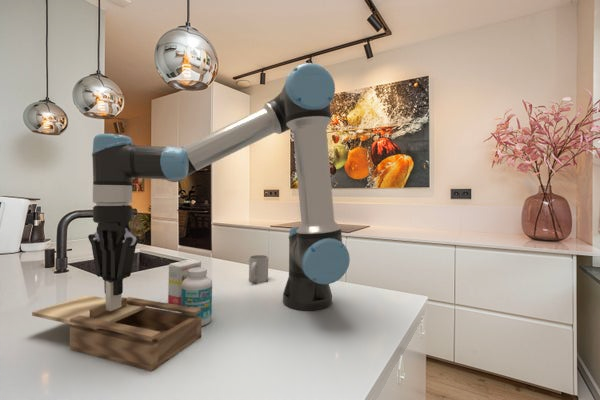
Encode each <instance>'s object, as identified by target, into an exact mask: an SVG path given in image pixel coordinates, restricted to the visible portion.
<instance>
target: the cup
mask: <svg viewBox="0 0 600 400" xmlns="http://www.w3.org/2000/svg"><path fill="white" fill-rule="evenodd" d="M248 257H249V259H248V281H249V282H250V283H253V284H262V282H263V283H266V282H268V280H269V256H268V255H264V254H256V255H251V256H248Z"/></svg>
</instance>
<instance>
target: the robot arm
mask: <svg viewBox="0 0 600 400" xmlns="http://www.w3.org/2000/svg"><path fill="white" fill-rule="evenodd" d="M335 92H336V84H335V81H334V79H333V75H331V74H330V72H329V70H326V69H325V68H324V66H322V65H319V64H316V63H314V62H305V63H301V64H298V65H297V66H295V68H293V69H292V70H291V72H290V73H289V74H288V75H287V77H286V79H285V83H284V85H283V87H282V90H281V92H279V94H278V95H277V96H275V97H274V98H273V99H271V100H270V101H267V102H265V103H264V105H263V108H262V109H258V110H257V111H255V112H252V113H250V114H249V115H246V116H244V117H242V118H240V119H238V120H236V121H234V122H232V123H229V124H227V125H225V126H223V127H221V128H219V129H216V130H214V131H213V132H211V133H208V134H207V135H204V136H202V137H200V138H198V139H196V140H194V141H192V142H190V143H188V144H185V145H183V146H181V147H177V146H172V145H168V146H160V145H159V146H157V145H156V146H155V145H154V146H152V145H151V146H150V145H136V144H134V143H133V140H132V138H131V137H130V136H127V135H123V134H115V133H99V134H96V135H95V136H94V137H93V141H92V142H93V143H92V153H91V157H92V179H93V180H92V203H93V204H95V205H94V206H93V207H92V221H93V222H94V223H97V226H96V232H94V233H93V234H89V235H87V236H88V237H87V238H88V241H89V243H90V245H91V250H92V256H93V261H94V266H95V267H94V268H95V274H96V276H97V277H98V278H100V277H101V278H102V280H103V281H104V282H103V283H104V294H105V298H106V310H107V311H112V310H115V309H117V308H120V307H122V302H121V298H122V295H123V291H124V290H123V289H124V287H123V286H124V284H123V283H124V282H123V281H124V280H125V279H126V278H129V277H130V276H131V274H132V269H133V263H134V258H135V253H136V252H135V251H136V249H137V244H138V243H139V241H140V236H138V235H134V234H132V231H131V227H130V224H129V223H130V222H132V220H133V206H132V205H130V204H131V203H133V179H137V180H139V179H140V180H141V179H146V180H147V179H151V180H161V181H163V180H164V181H167V182H171V183H179V182H181V181H183V180H185V179H186V178H187V177H188V176H190V175H191V174H194V173H195V172H197V171H199V170H202V169H203V168H205V167H207V166H210V165H212V164H214V163H216V162H218V161H220V160H222V159H224V158H225V157H228V156H230V155H231V154H234V153H236V152H238V151H240V150H242V149H244V148H246V147H248V146H250V145H253V144H254V143H256V142H258V141H259V142H260V141H261V140H262V139H264V138H267V137H269V136H271V135H273V134H278V135H280V134H283V133H285V132H287V131H289V130H291V131H292V133H293V134H292V136H293V144H294V145H293V147H294V157H295V168H296V176H297V177H296V178H297V189H298V198H299V199H298V200H299V209H300V210H299V212H300V221H301V224H300V225H299V226H292V227H291V228H290V229H289V235H288V250H289V251H288V278H287V280H286V284H285V287H284V290H283V293H282V304H284V305H285V306H287V307H288V308H291V309H294V310H299V311H300V310H301V311H318V310H323V309H326V308H328V307H330V306H331V305H332V304H333V293H332V289H331V286H330V285H331V284H334V283H336V282H338V281H340V279H342V277H343V276H344V275H346V273H347V270H349V266H350V261H351V258H350V253H349V250H348V249H347V246H346V245H345V243H344V242H343V234H342V226H341V225H339V223H337V222H336V221H335V212H334V211H335V210H334V201H333V191H332V189H333V188H332V179H331V178H332V177H331V169H330V167H331V166H330V156H329V155H330V154H329V143H328V133H327V128H328V127H329V125H330V124H331V122H333V121H332V110H331V103H332V102H333V99H334V96H335Z"/></svg>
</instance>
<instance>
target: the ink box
mask: <svg viewBox="0 0 600 400" xmlns="http://www.w3.org/2000/svg"><path fill="white" fill-rule="evenodd" d="M198 267H201V268H202V261H199V260H196V259H185V260H181V261H176V262H171V263H169V264H168V283H167V284H168V286H167V287H168V289H167V290H168V293H167V295H168V297H167V298H168V299H167V303H168V304H174V305H180V306H181V286H182V282H183V280H184V279H186V278H188V277H189V276H188V275H187V272H188V269H191V268H198Z"/></svg>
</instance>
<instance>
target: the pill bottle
mask: <svg viewBox="0 0 600 400" xmlns="http://www.w3.org/2000/svg"><path fill="white" fill-rule="evenodd" d="M207 273H208V269H207V268H206V267H202V266H201V267H198V268H191V269H188V272H187V275H188V276H189V277H188V278H186V279H184V280H183V282H182V286H181V306H186V307H192V308H198V309H201V312H200V313H198V314H196V315H194V316H200V317H201V327H202V326H205V325H208V324H209V323H210V322H211V321H212V319H213V318H212V315H213V314H212V313H213V312H212V311H213V279H211V277H209V276H207ZM182 314H187V313H182ZM188 315H193V314H188Z"/></svg>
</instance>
